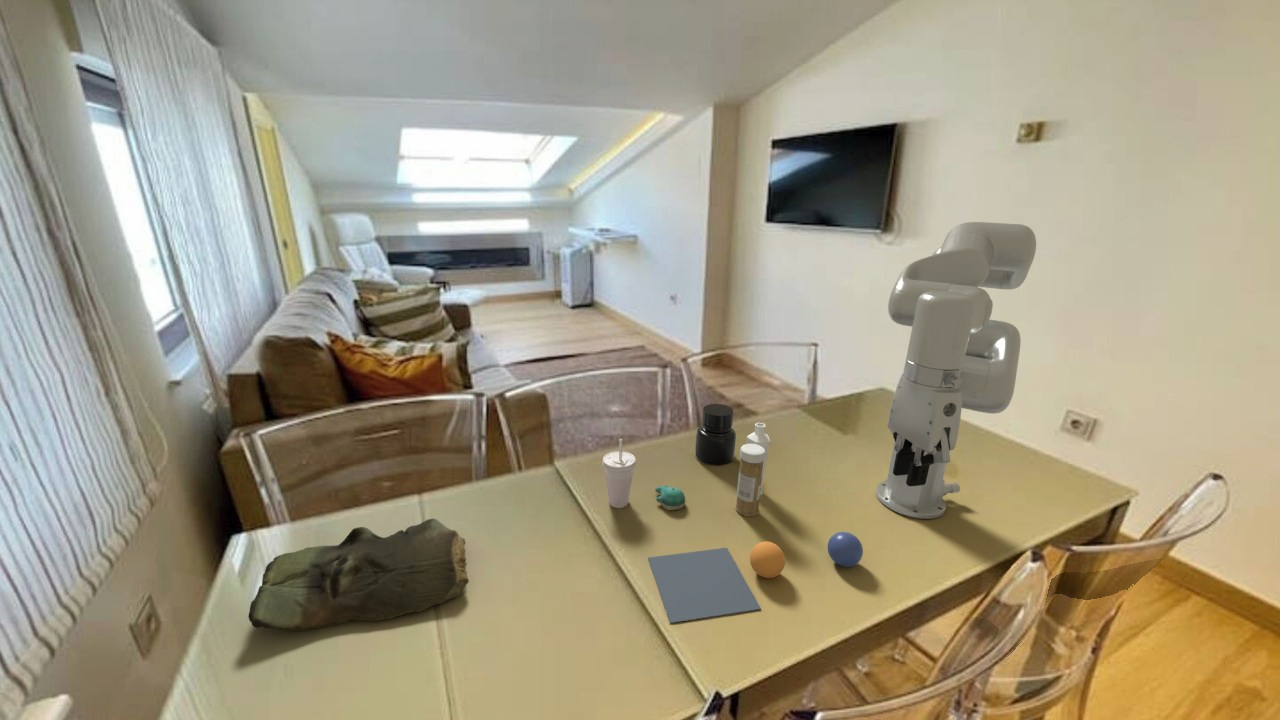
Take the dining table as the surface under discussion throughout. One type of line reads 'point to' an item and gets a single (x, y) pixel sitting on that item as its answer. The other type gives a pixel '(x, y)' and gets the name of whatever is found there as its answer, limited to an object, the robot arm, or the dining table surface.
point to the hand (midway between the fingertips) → (908, 478)
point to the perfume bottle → (760, 442)
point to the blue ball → (845, 549)
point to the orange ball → (767, 559)
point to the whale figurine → (670, 497)
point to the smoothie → (619, 476)
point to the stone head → (362, 578)
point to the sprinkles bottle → (750, 479)
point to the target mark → (701, 585)
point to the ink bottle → (716, 435)
